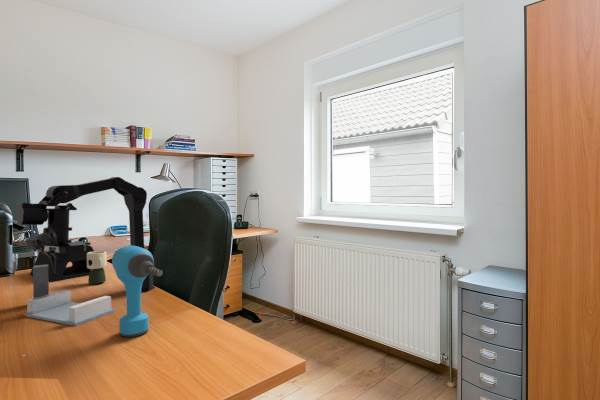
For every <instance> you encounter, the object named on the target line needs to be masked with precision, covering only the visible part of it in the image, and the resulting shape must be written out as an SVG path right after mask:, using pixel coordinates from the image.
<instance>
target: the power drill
mask: <svg viewBox="0 0 600 400" xmlns="http://www.w3.org/2000/svg"><path fill="white" fill-rule="evenodd" d="M144 248H145V247H144ZM144 248H141V247H138V246H131V245H126V246H122V247H120V248H118V249H117V250H115V252H114V253H113V255H112V258H111V264H112V268H113V269H114V272H115V274H116V275H115V276H116V277H117V279H118V280H119V281H121V283H123V286H124V288H125V295H126V314H124V315H122V316H120V318H119V319H118V320H119V334H120V336H122V337H124V338H133V337H138V336H141V335H144V334H146V333H147V332H148V331H149V329H150V327H149V323H150V322H149V321H150V320H149V314H147V313H146V312H142V291H141V288H142V283H143V281H144V279H145V278H146V277H147V276H148V275H149V274H153V276H155V277H161V276H163V274H164V273H163V270H161V269H159V268H157V267H156V266H155V262H154V261H155V260H154V256H153V254H152V252H150V251H149V250H148V249H146V248H145V249H144Z"/></svg>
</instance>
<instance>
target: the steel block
mask: <svg viewBox="0 0 600 400" xmlns="http://www.w3.org/2000/svg"><path fill="white" fill-rule="evenodd" d="M33 266H34V265H33ZM33 266H32V268H33V276H32V286H33V287H32V288H33V294H32V295H33V298H36V297H40V296H44V295H47V294H50V282H49V266H48V264H47V265H36V266H34V267H33Z"/></svg>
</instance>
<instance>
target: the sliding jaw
mask: <svg viewBox="0 0 600 400" xmlns="http://www.w3.org/2000/svg"><path fill="white" fill-rule="evenodd" d="M71 293H72V292H71V290H70V289H63V290H59V291H56V292H55V291H54V292H51V293H49V294H47V295H44V296H40V297H36V298H34V297H33V298H30V299H26V307H27V308H26V309H27V310H26V311H27V312H26V313H31V314H34V313H37V312H40V311H44V310H47V309H50V308H53V307H57V306H60V305H63V304H67V303H70V302H72V298H71V297H72V296H71Z"/></svg>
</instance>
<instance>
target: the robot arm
mask: <svg viewBox="0 0 600 400" xmlns="http://www.w3.org/2000/svg"><path fill="white" fill-rule="evenodd" d="M108 190H115V192H116V193H118V195H121V196H122V197H123V200H124V204H125V206H126V208H127V210H128V214H129V215H128V217H129V218H128V219H129V221H128V223H129V238H130V239H129V241H130V242H129V243H130V245H129V246H138V247H141V248H144V249H146V248H145V237H144V236H145V233H144V229H145V228H144V212H143V211H144V208H145V206H146V204H147V197H148V193H147V191H146V189H144V187H140V186H137V185H135V184H133V183H131V182H129V181H126V180H125V179H123V178H122V177H120V176H111V177H109V178H106V179H100V180H95V181H91V182H85V183H81V184H67V185H63V184H62V185H61V184H60V185H53V186H52V185H51V186H49V187H48V189H47V190H46V193H45V196H43V198H42V199H41V200H40V201H39V202H38V203H29V202H20V203H19V207H18V210H17V213H16V222H17V225H18V226H43V225H44V223H46V222H47V227H44V228H43V230H42V232H41V233H38V234H35V235H33V236H30V237H27V238H26V239H24V241H25V243H26V246H27V248H28V250H34V251H38V250H41V249H42V248H44V251H42V253H44V254H46V255H47V256H48V257H49V259H50V261H51V264H52V267H53V270H54V273H59V272H60V271H61V269H62V267H63V266H64V264H65V262H66V260H67V259H68V257H69V256H70V254H71V253H75V252H83V251H85V245H86V244H85V243H84V242H81V241H80V242H78V241H72V239H70V238H69V235H70V233H69V232H70V231H73V227H71V226H70V211H78V208H77V207H76V206H75V205H73V203H72V201H75V200H77V199H79V198H81V197H84V196H86V195H92V194H95V193H99V192H103V191H108ZM61 204H62V205H61ZM63 204H64V205H63ZM47 207H53V208H47ZM84 244H85V245H84ZM153 287H154V288H156V286H155V285H154V275H153V274H149V275H148V276H147V277H146V278H145V279H144V281H143V283H142V288H141V292H149V291H150V289H151V290H153V289H154V288H153ZM152 288H153V289H152Z"/></svg>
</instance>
